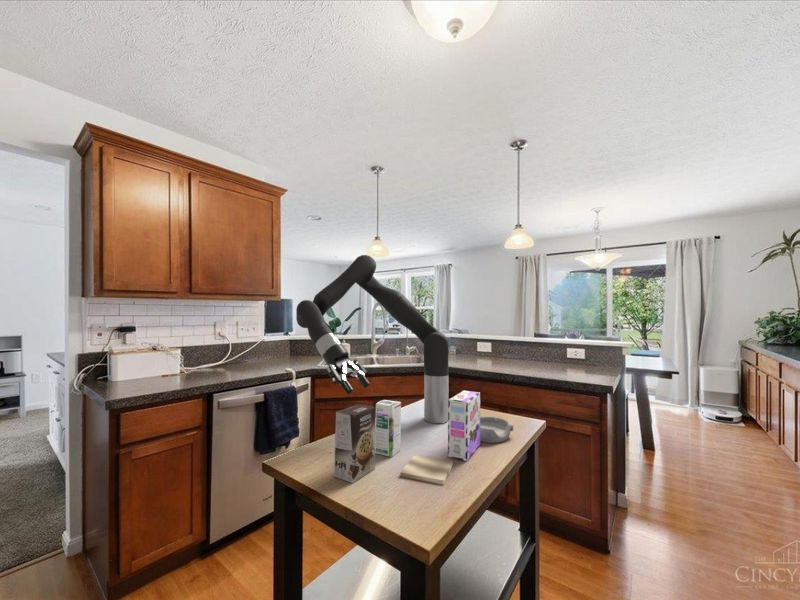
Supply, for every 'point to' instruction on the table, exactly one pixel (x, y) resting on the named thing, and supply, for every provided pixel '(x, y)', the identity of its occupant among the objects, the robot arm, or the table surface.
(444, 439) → the table surface
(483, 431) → the dish
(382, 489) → the table surface
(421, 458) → the maple board
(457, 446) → the candy box
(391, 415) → the syrup box
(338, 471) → the grey cardboard box
